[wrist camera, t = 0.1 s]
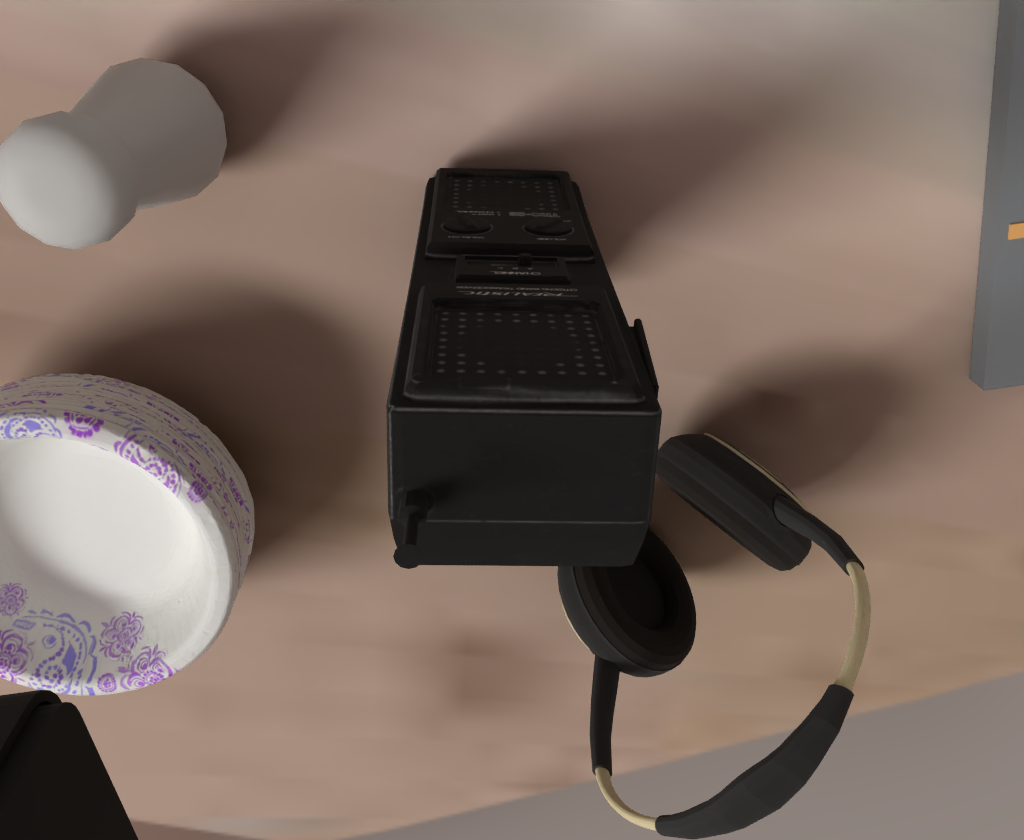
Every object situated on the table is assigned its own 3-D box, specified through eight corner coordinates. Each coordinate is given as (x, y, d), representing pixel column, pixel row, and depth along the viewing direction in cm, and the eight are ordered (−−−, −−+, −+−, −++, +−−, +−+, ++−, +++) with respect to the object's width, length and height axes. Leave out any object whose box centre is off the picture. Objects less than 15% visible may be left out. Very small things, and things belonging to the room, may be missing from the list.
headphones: (512, 548, 52) (531, 862, 34) (709, 359, 48) (850, 609, 30) (623, 629, 55) (694, 959, 37) (820, 458, 50) (1009, 741, 32)
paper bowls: (253, 346, 46) (213, 419, 39) (279, 599, 53) (248, 700, 46) (-67, 342, 46) (-166, 415, 39) (0, 599, 53) (-74, 701, 46)
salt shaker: (264, 153, 42) (185, 231, 31) (157, 211, 43) (41, 309, 32) (186, 26, 40) (68, 59, 28) (75, 91, 41) (-83, 150, 29)
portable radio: (600, 168, 43) (735, 407, 21) (590, 295, 46) (701, 627, 24) (426, 163, 43) (372, 401, 20) (426, 291, 46) (380, 626, 23)
